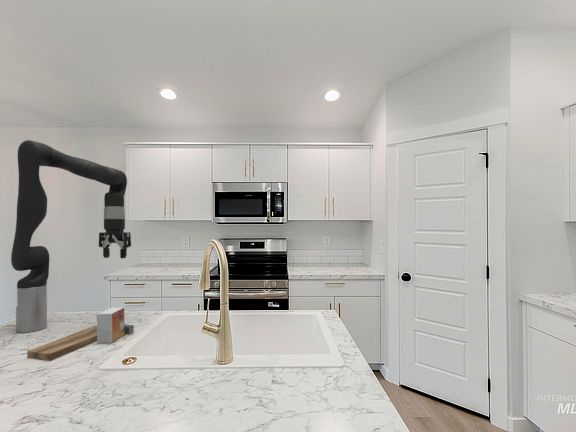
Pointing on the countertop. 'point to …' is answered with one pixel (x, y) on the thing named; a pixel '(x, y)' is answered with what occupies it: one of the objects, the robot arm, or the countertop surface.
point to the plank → (64, 345)
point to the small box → (110, 325)
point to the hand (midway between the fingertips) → (114, 257)
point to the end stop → (128, 329)
